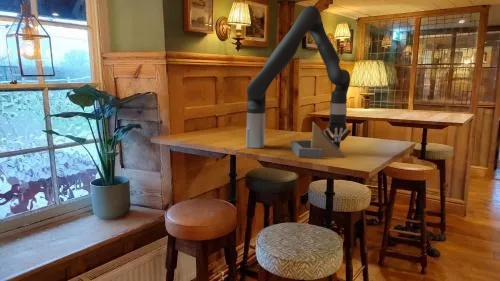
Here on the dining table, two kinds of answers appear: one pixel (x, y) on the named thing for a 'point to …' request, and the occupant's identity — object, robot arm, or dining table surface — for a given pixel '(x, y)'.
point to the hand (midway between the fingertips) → (336, 149)
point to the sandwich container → (324, 143)
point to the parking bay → (305, 149)
